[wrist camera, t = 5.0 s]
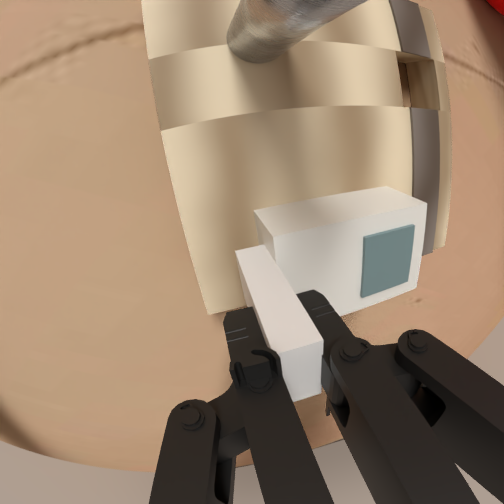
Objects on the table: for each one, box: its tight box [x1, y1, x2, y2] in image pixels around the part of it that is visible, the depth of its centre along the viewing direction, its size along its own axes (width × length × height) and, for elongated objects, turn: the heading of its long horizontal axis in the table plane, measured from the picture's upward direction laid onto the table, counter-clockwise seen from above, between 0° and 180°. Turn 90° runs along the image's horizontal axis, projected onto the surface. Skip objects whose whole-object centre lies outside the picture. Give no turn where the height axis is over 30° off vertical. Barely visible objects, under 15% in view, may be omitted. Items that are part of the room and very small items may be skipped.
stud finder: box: [254, 186, 427, 316], centre depth 14 cm, size 8×5×4 cm, turn 98°
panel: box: [141, 0, 452, 315], centre depth 14 cm, size 18×18×3 cm
